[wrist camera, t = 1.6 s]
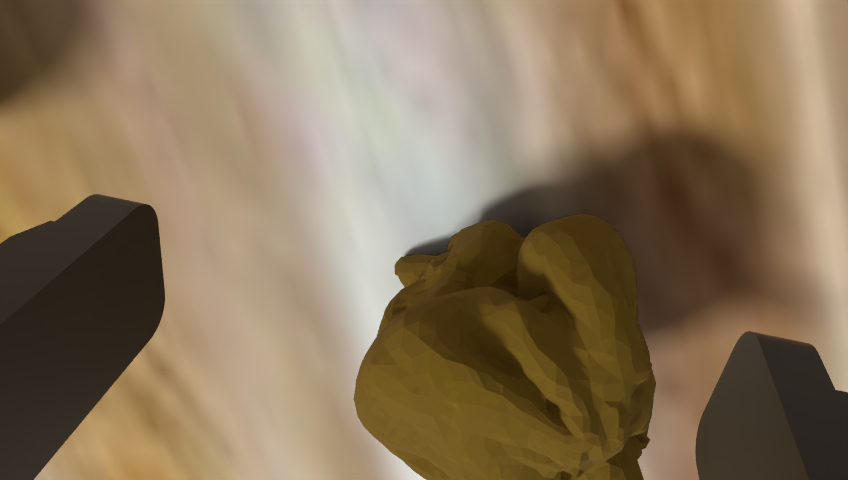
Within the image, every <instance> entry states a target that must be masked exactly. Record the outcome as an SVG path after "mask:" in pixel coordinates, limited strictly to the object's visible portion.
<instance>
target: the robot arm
mask: <svg viewBox="0 0 848 480" xmlns="http://www.w3.org/2000/svg"><path fill="white" fill-rule="evenodd" d="M164 303H165V290H164V279H163V269H162V258H161V248H160V237H159V227H158V219H157V215H156V212H155V210H154V209H153V208H152V207H151V206H150V205H147V204H143V203H138V202H133V201H128V200H123V199H118V198H114V197H109V196H104V195H99V194H94V195H91V196H89V197H87V198H86V199H84V200H83V201H82V202H80V203H79V204H78V205H76V206H75V207H74V208H72V209H71V210H70V211H69V212H67V213H66V214H65V215H63V216H62V217H61V218H59V219H58V220H57V221H55V222H54V221H49V222H46V223H44V224H41V225H39V226H36V227H34V228H31V229H29V230H26V231H23V232H21V233H18V234H16V235H13V236H11V237H9V238H8V239H6V240H5V241H4V242H2V243H1V244H0V480H34V478H35V477H36V476H37V475H38V474H39V472H40V471H41V470H42V469H43V468H44V466H45V465H46V464H47V463H48V462H49V460H50V459H51V458H52V457H53V456H54V454H55V453H56V452H57V451H58V450H59V448H60V447H61V446H62V445H63V444H64V442H65V441H66V440H67V439H68V438H69V436H70V435H71V434H72V433H73V432H74V430H75V429H76V428H77V427H78V426H79V424H80V423H81V422H82V421H83V420H84V418H85V417H86V416H87V415H88V414H89V412H90V411H91V410H92V409H93V408H94V406H95V405H96V404H97V403H98V402H99V400H100V399H101V398H102V397H103V395H104V394H105V393H106V392H107V391H108V389H109V388H110V387H111V386H112V385H113V383H114V382H115V381H116V380H117V379H118V377H119V376H120V375H121V374H122V373H123V371H124V370H125V369H126V368H127V367H128V365H129V364H130V363H131V362H132V361H133V359H134V358H135V357H136V356H137V355H138V353H139V352H140V351H141V350H142V349H143V347H144V346H145V345H146V344H147V343H148V341H149V340H150V339H151V338H152V336H153V335H154V333H155V331H156V330H157V328H158V325H159V323H160V320H161V317H162V314H163V310H164ZM696 464H697V469H698V474H699V480H848V393H847V392H843V391H838V390H835V388H834V386H833V384H832V381H831V379H830V377H829V375H828V373H827V371H826V369H825V367H824V364H823V362H822V360H821V358H820V356H819V354H818V352H817V350H816V348H815V347H814V346H813V345H811V344H808V343H804V342H799V341H794V340H789V339H784V338H780V337H775V336H770V335H765V334H760V333H756V332H750V331H748V332H745V333H744V334H743V335H742V336H741V337H740V338H739V340H738V341H737V343H736V345H735V347H734V349H733V351H732V353H731V355H730V357H729V359H728V362H727V364H726V366H725V368H724V370H723V372H722V374H721V376H720V378H719V381H718V383H717V385H716V387H715V389H714V391H713V393H712V395H711V397H710V400H709V402H708V404H707V406H706V408H705V410H704V412H703V415H702V417H701V420H700V423H699V427H698V432H697V438H696Z"/></svg>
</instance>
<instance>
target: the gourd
mask: <svg viewBox="0 0 848 480" xmlns="http://www.w3.org/2000/svg"><path fill="white" fill-rule="evenodd" d="M395 274H396V275H398V276H399V279H400V281H401V283H402V284H403V285H404V287H405V288H404V289H402V290H401V291H400V292H399V293H398V294H397V295H396V296H395V297H394V298H393V299H392V300H391V301H390V303H389V304H388V306H387V308H386V309H385V312H384V316H383V318H382V321H381V324H380V327H379V330H378V334H377V337H376V339H375V340H374V342H373V344H372V345H371V347H370V348H369V350H368V352H367V353H366V355H365V357H364V359H363V361H362V363H361V366H360V369H359V373H358V376H357V379H356V387H355V394H354V402H355V406H356V411H357V415H358V418H359V419H360V421H361V422H362V424H363V426H364V427H365V428H366V429H367V430H368V431H369V432H370V433H371V434H372V436H373V437H375V438H376V439H377V440H378V441H379V442H381V443H382V444H383V445H384V446H385V447H386V448H387V449H388V450H389V451H390V452H391V453H393V454H394V455H396V456H397V457H399V458H400V459H401V460H403V461H404V462H405V463H406V464H407V465H408V466H409V467H410V468H411V469H412V470H413V471H415V472H416V473H417V474H419V475H420V476H422V477H423V478H425V479H426V480H644V479H643V476H642V473H641V470H640V467H639V464H638V461H637V459H638V458H639V457H640V456H641V454H642V449H644V448H646V446H647V444H648V443H649V441H650V439H649V438H648V437H647V433H648V428H649V423H650V419H651V416H652V408H653V397H654V392H655V386H656V382H655V378H654V375H653V371H652V368H651V367H652V364H651V362H650V356H649V350H648V347H647V345H646V342H645V339H644V336H643V334H642V331H641V329H640V327H639V325H638V311H637V280H636V269H635V265H634V260H633V257H632V254H631V251H630V250H629V248H628V246H627V245H626V243H625V242H624V241H623V240H622V238H621V237H620V235H619V234H618V233H617V231H616V230H615V229H614V228H613V226H612V225H611V224H610V223H608V222H607V221H605V220H603V219H601V218H599V217H595V216H592V215H588V214H577V215H570V216H566V217H563V218H559V219H556V220H552V221H549V222H546V223H544V224H542V225H540V226H538V227H536V228H534V229H533V230H532V231H531V232H530V233H529V234H528V236H527V237H526V238H523V237H522V236H521V235H520V234H518V233H517V232H516V231H515V230H514V229H513V228H512V227H511V226H510V225H508V224H505V223H502V222H499V221H496V220H488V221H483V222H480V223H478V224H475V225H472V226H470V227H467V228H464V229H462V230H461V231H460V232H459V233H457V234H455V235H453V236H452V237H451V240H450V242H449V244H448V246H447V252H444V253H442V254H440V255H438V256H434V255H423V254H415V255H409V256H404V257H401V258H400V259H399V260H398V261H397V263H396V264H395Z"/></svg>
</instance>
